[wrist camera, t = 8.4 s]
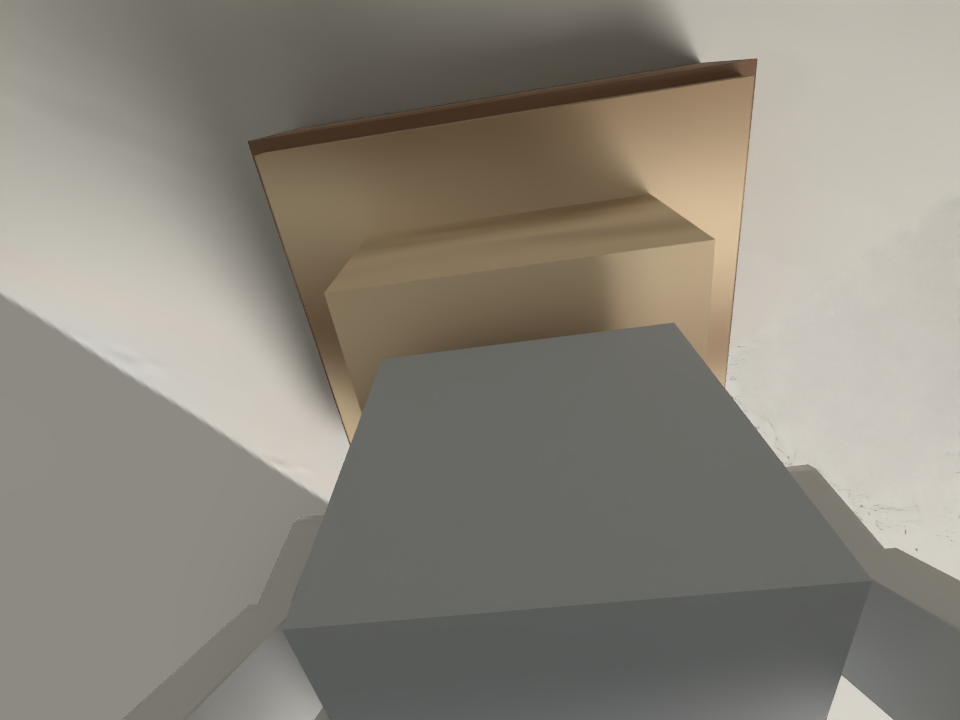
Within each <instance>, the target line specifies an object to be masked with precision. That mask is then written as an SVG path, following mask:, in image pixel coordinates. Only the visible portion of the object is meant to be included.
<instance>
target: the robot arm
mask: <svg viewBox="0 0 960 720" xmlns="http://www.w3.org/2000/svg"><path fill="white" fill-rule="evenodd" d="M786 469H787V470H788V471H789V472H790V474H791V475H792V476H793V478H794V479H795V480H796V482H797V483H798V484H799V485H800V487H801V488H802V489H803V491H804V492H805V493H806V495H807V496H808V497H809V498H810V500H811V501H812V502H813V504H814V505H815V506H816V508H817V509H818V510H819V511H820V513H821V514H822V515H823V517H824V518H825V519H826V521H827V522H828V523H829V524H830V526H831V527H832V528H833V530H834V531H835V532H836V534H837V535H838V536H839V538H840V539H841V540H842V541H843V543H844V544H845V545H846V547H847V548H848V549H849V551H850V552H851V553H852V554H853V556H854V557H855V558H856V560H857V561H858V562H859V564H860V565H861V566H862V567H863V569H864V570H865V571H866V573H867V574H868V575H869V577H870V578H871V579H872V580H873V581H872V584H871V587H870V590H869V593H868V596H867V599H866V602H865V605H864V608H863V611H862V614H861V617H860V620H859V623H858V626H857V629H856V632H855V635H854V638H853V641H852V644H851V647H850V650H849V653H848V656H847V659H846V662H845V665H844V668H843V671H842V674H841V675H842V676H843V677H845V678H846V679H847V680H848V681H849V682H850V683H852V684H853V685H854V686H855V687H856V688H857V689H859V690H860V691H861V692H862V693H863V694H864V695H866V696H867V697H868V698H869V699H870V700H871V701H873V702H874V703H875V704H876V705H877V706H878V707H879V708H881V709H882V710H883V711H884V712H885V713H886V714H888V715H889V716H890V717H891V718H892V719H893V720H960V581H959V580H957V579H955V578H953V577H951V576H950V575H948V574H946V573H944V572H942V571H940V570H938V569H936V568H934V567H932V566H930V565H928V564H926V563H924V562H923V561H921V560H919V559H917V558H915V557H913V556H911V555H909V554H907V553H905V552H903V551H901V550H899V549H897V548H888V549H885V548H884V547H883V546H882V545H881V544H880V543H879V541H878V540H877V539H876V538H875V537H874V536H873V534H872V533H871V532H870V531H869V530H868V529H867V527H866V526H865V525H864V524H863V523H862V522H861V521H860V519H859V518H858V517H857V516H856V515H855V514H854V512H853V511H852V510H851V509H850V508H849V507H848V505H847V504H846V503H845V502H844V501H843V500H842V498H841V497H840V496H839V495H838V494H837V493H836V491H835V490H834V489H833V488H832V487H831V486H830V485H829V483H828V482H827V481H826V480H825V479H824V478H823V476H822V475H821V474H820V473H819V472H818V471H817V469H816V468H814V467H812V466H810V465H808V464H807V465H798V466H790V467H786ZM324 515H325V514H320V515H305V516H300V517H299V518H298V519H297V520H296V521H295V522H294V523H293V525H292V527H291V530H290V532H289V534H288V537H287V539H286V542H285V544H284V546H283V548H282V550H281V553H280V555H279V557H278V559H277V562H276V564H275V566H274V569H273V571H272V573H271V575H270V578H269V580H268V582H267V585H266V587H265V589H264V591H263V594H262V596H261V598H260V600H259V603H258V604H252V605H248V606H247V607H246V608H245V609H244V610H243V611H241V612H240V613H239V614H238V615H237V616H236V617H235V618H234V619H232V620H231V621H230V622H229V623H228V624H227V625H226V626H225V627H224V628H222V629H221V630H220V631H219V632H218V633H217V634H216V635H215V636H214V637H212V638H211V639H210V640H209V641H208V642H207V643H206V644H205V645H204V646H203V647H201V648H200V649H199V650H198V651H197V652H196V653H195V654H194V655H193V656H191V657H190V658H189V659H188V660H187V661H186V662H185V663H184V664H183V665H182V666H180V667H179V668H178V669H177V670H176V671H175V672H174V673H173V674H172V675H170V676H169V677H168V678H167V679H166V680H165V681H164V682H163V683H162V684H160V685H159V686H158V687H157V688H156V689H155V690H154V691H153V692H152V693H150V694H149V695H148V696H147V697H146V698H145V699H144V700H143V701H142V702H140V703H139V704H138V705H137V706H136V707H135V708H134V709H133V710H132V711H131V712H129V713H128V714H127V715H126V716H125V717H124V718H123V719H122V720H314V719H315V717H316V716H317V714H318V713H319V712H320V710H321V709H322V707H323V706H322V704H321V702H320V700H319V698H318V697H317V695H316V693H315V691H314V689H313V687H312V685H311V683H310V682H309V680H308V678H307V676H306V674H305V672H304V670H303V669H302V667H301V665H300V663H299V661H298V659H297V657H296V656H295V654H294V652H293V650H292V648H291V646H290V644H289V642H288V641H287V639H286V637H285V635H284V633H283V631H282V628H283V625H284V622H285V620H286V617H287V614H288V612H289V609H290V606H291V604H292V601H293V598H294V596H295V593H296V590H297V587H298V585H299V582H300V579H301V577H302V574H303V571H304V569H305V566H306V563H307V560H308V558H309V555H310V552H311V550H312V547H313V544H314V542H315V539H316V536H317V534H318V531H319V528H320V525H321V523H322V520H323V517H324Z"/></svg>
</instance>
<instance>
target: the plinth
mask: <svg viewBox="0 0 960 720" xmlns="http://www.w3.org/2000/svg"><path fill="white" fill-rule="evenodd" d="M756 68H757V59H745V60H732V61H719V62H706V63H698V64H692V65H685V66H679V67H673V68H667V69H661V70H655V71H649V72H643V73H637V74H631V75H624V76H618V77H612V78H606V79H600V80H594V81H588V82H582V83H576V84H569V85H563V86H557V87H551V88H545V89H539V90H533V91H527V92H521V93H514V94H508V95H502V96H496V97H490V98H484V99H478V100H472V101H466V102H459V103H453V104H447V105H441V106H435V107H429V108H423V109H417V110H411V111H404V112H398V113H392V114H386V115H380V116H374V117H368V118H362V119H356V120H349V121H343V122H337V123H331V124H325V125H319V126H313V127H307V128H301V129H294V130H290V131H287V132H283V133H279V134H275V135H271V136H267V137H263V138H260V139H256V140H252V141H248V144H249V147H250V150H251V153H252V156H253V159H254V162H255V165H256V168H257V171H258V173H259V176H260V179H261V182H262V185H263V188H264V191H265V194H266V197H267V200H268V203H269V206H270V209H271V212H272V215H273V218H274V221H275V224H276V227H277V230H278V233H279V236H280V239H281V242H282V245H283V248H284V251H285V254H286V257H287V260H288V263H289V266H290V269H291V272H292V275H293V278H294V280H295V283H296V286H297V289H298V292H299V295H300V298H301V301H302V304H303V307H304V310H305V313H306V316H307V319H308V322H309V325H310V328H311V331H312V334H313V337H314V340H315V343H316V346H317V349H318V352H319V355H320V358H321V361H322V364H323V367H324V370H325V373H326V376H327V379H328V382H329V385H330V387H331V390H332V393H333V396H334V399H335V402H336V405H337V408H338V411H339V414H340V417H341V420H342V423H343V426H344V429H345V432H346V435H347V438H348V441H349V444H350V445H351V442H352V439H353V436H354V434H355V431H356V428H357V426H358V423H359V420H360V418H361V415H362V413H361V410H360V407H359V404H358V400H357V397H356V394H355V391H354V388H353V384H352V381H351V378H350V375H349V371H348V368H347V365H346V362H345V359H344V355H343V352H342V349H341V346H340V343H339V339H338V336H337V333H336V330H335V326H334V323H333V320H332V317H331V314H330V310H329V307H328V304H327V301H326V298H325V294H324V292H325V291H326V290H327V289H328V287H329V286H330V285H331V283H332V282H333V281H334V279H335V278H336V277H337V275H338V274H339V273H340V271H341V270H342V269H343V267H344V266H345V265H346V264H347V262H348V261H349V260H350V258H351V257H352V256H353V254H354V253H355V252H356V250H357V249H358V248H359V246H360V245H361V244H362V243H363V241H364V240H365V239H366V237H367V236H368V235H371V234H378V233H385V232H392V231H399V230H406V229H412V228H419V227H426V226H433V225H440V224H447V223H454V222H461V221H468V220H475V219H481V218H488V217H495V216H502V215H509V214H516V213H523V212H530V211H537V210H544V209H550V208H557V207H564V206H571V205H578V204H585V203H592V202H599V201H606V200H613V199H619V198H626V197H633V196H640V195H647V194H651V195H652V196H654V197H655V198H657V199H658V200H660V201H661V202H662V203H664V204H665V205H667V206H668V207H670V208H671V209H672V210H674V211H675V212H677V213H678V214H680V215H681V216H683V217H684V218H685V219H687V220H688V221H690V222H691V223H693V224H694V225H695V226H697V227H698V228H700V229H701V230H703V231H704V232H705V233H707V234H708V235H710V236H711V237H713V238H714V239H715V252H714V265H713V279H712V292H711V305H710V318H709V331H708V345H707V358H706V364H707V366H708V367H709V368H710V370H711V371H712V372H713V374H714V375H715V376H716V378H717V379H718V380H719V381H720V383H721V384H722V385H723V387H724V388H725V383H726V373H727V362H728V352H729V342H730V332H731V322H732V312H733V302H734V291H735V281H736V271H737V261H738V251H739V241H740V231H741V220H742V210H743V200H744V190H745V180H746V170H747V160H748V149H749V139H750V129H751V119H752V109H753V99H754V89H755V78H756Z"/></svg>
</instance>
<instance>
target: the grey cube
mask: <svg viewBox="0 0 960 720" xmlns="http://www.w3.org/2000/svg"><path fill="white" fill-rule="evenodd" d="M872 581H873V580H872V579H871V578H870V577H869V575H868V574H867V573H866V571H865V570H864V569H863V567H862V566H861V565H860V564H859V562H858V561H857V560H856V558H855V557H854V556H853V554H852V553H851V552H850V551H849V549H848V548H847V547H846V545H845V544H844V543H843V541H842V540H841V539H840V538H839V536H838V535H837V534H836V532H835V531H834V530H833V528H832V527H831V526H830V524H829V523H828V522H827V521H826V519H825V518H824V517H823V515H822V514H821V513H820V511H819V510H818V509H817V508H816V506H815V505H814V504H813V502H812V501H811V500H810V498H809V497H808V496H807V495H806V493H805V492H804V491H803V489H802V488H801V487H800V485H799V484H798V483H797V482H796V480H795V479H794V478H793V476H792V475H791V474H790V472H789V471H788V470H787V469H786V467H785V466H784V465H783V463H782V462H781V461H780V459H779V458H778V457H777V456H776V454H775V453H774V452H773V450H772V449H771V448H770V446H769V445H768V444H767V443H766V441H765V440H764V439H763V437H762V436H761V435H760V433H759V432H758V431H757V430H756V428H755V427H754V426H753V424H752V423H751V422H750V420H749V419H748V418H747V417H746V415H745V414H744V413H743V411H742V410H741V409H740V407H739V406H738V405H737V404H736V402H735V401H734V400H733V398H732V397H731V396H730V394H729V393H728V392H727V391H726V389H725V388H724V387H723V385H722V384H721V383H720V381H719V380H718V379H717V378H716V376H715V375H714V374H713V372H712V371H711V370H710V368H709V367H708V366H707V364H706V363H705V362H704V361H703V359H702V358H701V357H700V355H699V354H698V353H697V351H696V350H695V349H694V348H693V346H692V345H691V344H690V342H689V341H688V340H687V338H686V337H685V336H684V335H683V333H682V332H681V331H680V329H679V328H678V327H677V325H676V324H675V323H666V324H658V325H650V326H642V327H634V328H626V329H618V330H610V331H602V332H594V333H586V334H578V335H570V336H562V337H554V338H546V339H538V340H530V341H522V342H515V343H507V344H499V345H491V346H483V347H475V348H467V349H459V350H451V351H443V352H435V353H427V354H419V355H411V356H403V357H395V358H387V359H382V361H381V364H380V366H379V369H378V372H377V374H376V377H375V380H374V383H373V385H372V388H371V391H370V393H369V396H368V399H367V401H366V404H365V407H364V409H363V412H362V415H361V418H360V420H359V423H358V426H357V428H356V431H355V434H354V436H353V439H352V442H351V445H350V447H349V450H348V453H347V455H346V458H345V461H344V463H343V466H342V469H341V471H340V474H339V477H338V480H337V482H336V485H335V488H334V490H333V493H332V496H331V498H330V501H329V504H328V507H327V509H326V512H325V515H324V517H323V520H322V523H321V525H320V528H319V531H318V534H317V536H316V539H315V542H314V544H313V547H312V550H311V552H310V555H309V558H308V560H307V563H306V566H305V569H304V571H303V574H302V577H301V579H300V582H299V585H298V587H297V590H296V593H295V596H294V598H293V601H292V604H291V606H290V609H289V612H288V614H287V617H286V620H285V622H284V625H283V628H282V631H283V633H284V635H285V637H286V639H287V641H288V642H289V644H290V646H291V648H292V650H293V652H294V654H295V656H296V657H297V659H298V661H299V663H300V665H301V667H302V669H303V670H304V672H305V674H306V676H307V678H308V680H309V682H310V683H311V685H312V687H313V689H314V691H315V693H316V695H317V697H318V698H319V700H320V702H321V704H322V706H323V708H324V709H325V711H326V713H327V715H328V717H329V719H330V720H826V719H827V716H828V713H829V710H830V707H831V704H832V701H833V698H834V695H835V692H836V689H837V686H838V683H839V680H840V677H841V674H842V671H843V668H844V665H845V662H846V659H847V656H848V653H849V650H850V647H851V644H852V641H853V638H854V635H855V632H856V629H857V626H858V623H859V620H860V617H861V614H862V611H863V608H864V605H865V602H866V599H867V596H868V593H869V590H870V587H871V584H872Z"/></svg>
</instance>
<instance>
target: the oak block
mask: <svg viewBox="0 0 960 720" xmlns="http://www.w3.org/2000/svg"><path fill="white" fill-rule="evenodd" d="M714 252H715V239H714V238H713V237H711V236H710V235H708V234H707V233H705V232H704V231H703V230H701V229H700V228H698V227H697V226H695V225H694V224H693V223H691V222H690V221H688V220H687V219H685V218H684V217H683V216H681V215H680V214H678V213H677V212H675V211H674V210H672V209H671V208H670V207H668V206H667V205H665V204H664V203H662V202H661V201H660V200H658V199H657V198H655V197H654V196H652V195H651V194H647V195H640V196H633V197H626V198H619V199H613V200H606V201H599V202H592V203H585V204H578V205H571V206H564V207H557V208H550V209H544V210H537V211H530V212H523V213H516V214H509V215H502V216H495V217H488V218H481V219H475V220H468V221H461V222H454V223H447V224H440V225H433V226H426V227H419V228H412V229H406V230H399V231H392V232H385V233H378V234H371V235H368V236H367V237H366V239H365V240H364V241H363V243H362V244H361V245H360V246H359V248H358V249H357V250H356V252H355V253H354V254H353V256H352V257H351V258H350V260H349V261H348V262H347V264H346V265H345V266H344V267H343V269H342V270H341V271H340V273H339V274H338V275H337V277H336V278H335V279H334V281H333V282H332V283H331V285H330V286H329V287H328V289H327V290H326V291H325V292H324V294H325V298H326V301H327V304H328V307H329V310H330V314H331V317H332V320H333V323H334V326H335V330H336V333H337V336H338V339H339V343H340V346H341V349H342V352H343V355H344V359H345V362H346V365H347V368H348V371H349V375H350V378H351V381H352V384H353V388H354V391H355V394H356V397H357V400H358V404H359V407H360V410H361V413H362V412H363V409H364V407H365V404H366V401H367V399H368V396H369V393H370V391H371V388H372V385H373V383H374V380H375V377H376V374H377V372H378V369H379V366H380V364H381V361H382V359H387V358H395V357H403V356H411V355H419V354H427V353H435V352H443V351H451V350H459V349H467V348H475V347H483V346H491V345H499V344H507V343H515V342H522V341H530V340H538V339H546V338H554V337H562V336H570V335H578V334H586V333H594V332H602V331H610V330H618V329H626V328H634V327H642V326H650V325H658V324H666V323H675V324H676V325H677V327H678V328H679V329H680V331H681V332H682V333H683V335H684V336H685V337H686V338H687V340H688V341H689V342H690V344H691V345H692V346H693V348H694V349H695V350H696V351H697V353H698V354H699V355H700V357H701V358H702V359H703V361H704V362H705V363H706V358H707V345H708V331H709V318H710V305H711V292H712V279H713V265H714Z"/></svg>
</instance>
